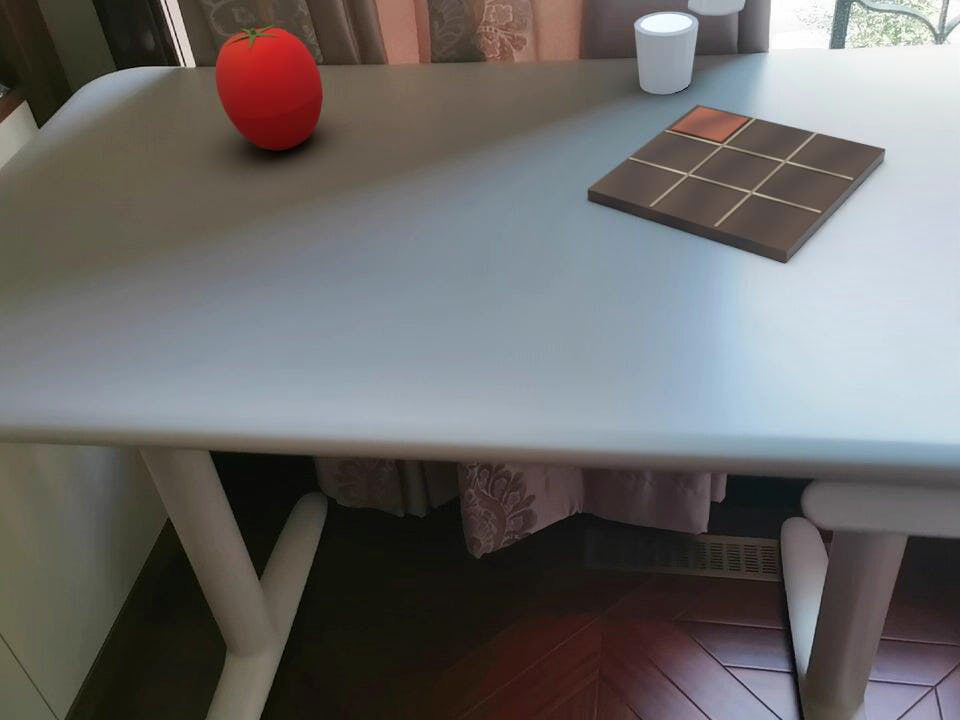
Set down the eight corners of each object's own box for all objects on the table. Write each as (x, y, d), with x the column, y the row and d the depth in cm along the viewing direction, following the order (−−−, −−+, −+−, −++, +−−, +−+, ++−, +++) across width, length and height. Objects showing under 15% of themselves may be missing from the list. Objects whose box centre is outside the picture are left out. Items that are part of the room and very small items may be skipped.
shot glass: (630, 96, 106) (630, 35, 102) (637, 70, 111) (637, 10, 107) (693, 97, 105) (696, 34, 100) (698, 70, 110) (700, 9, 105)
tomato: (346, 148, 104) (322, 33, 95) (250, 178, 101) (216, 61, 92) (315, 111, 112) (289, 1, 104) (225, 137, 109) (191, 26, 101)
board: (883, 160, 91) (886, 146, 90) (785, 263, 80) (787, 249, 79) (696, 114, 101) (697, 102, 100) (587, 200, 91) (587, 187, 90)
